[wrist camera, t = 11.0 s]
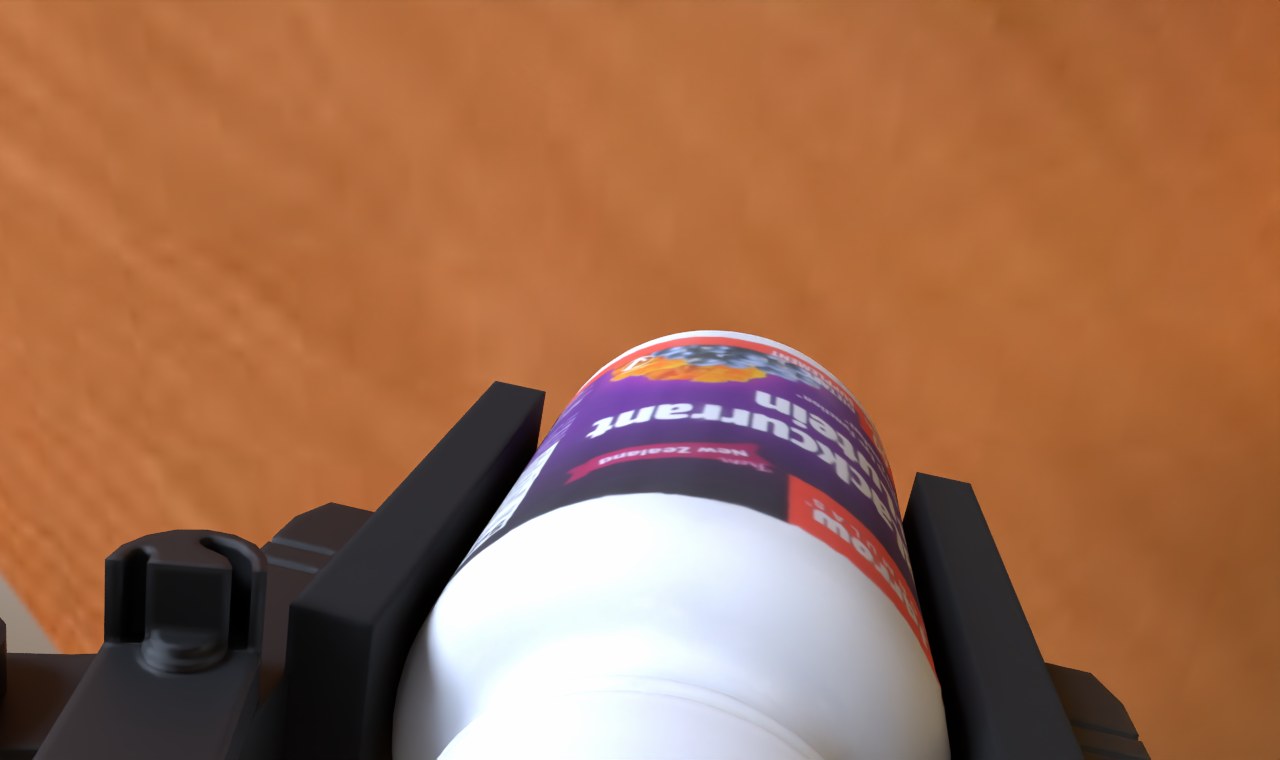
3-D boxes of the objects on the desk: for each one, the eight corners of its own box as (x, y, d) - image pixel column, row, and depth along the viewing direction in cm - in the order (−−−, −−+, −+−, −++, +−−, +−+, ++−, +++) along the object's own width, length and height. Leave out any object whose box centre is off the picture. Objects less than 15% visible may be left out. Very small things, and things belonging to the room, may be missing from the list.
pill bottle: (951, 401, 15) (1187, 914, 6) (805, 684, 17) (822, 1408, 8) (614, 265, 16) (356, 571, 6) (504, 560, 17) (178, 1135, 8)
